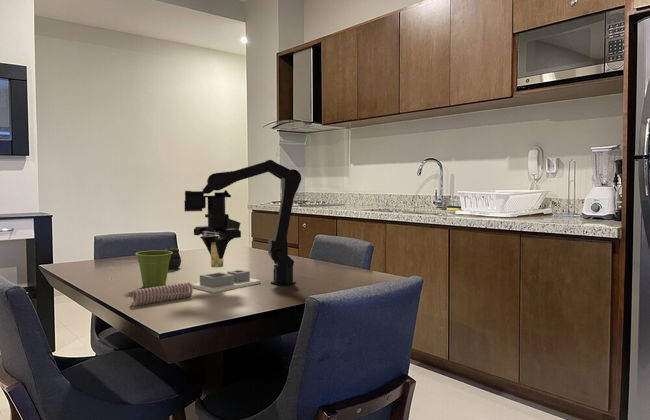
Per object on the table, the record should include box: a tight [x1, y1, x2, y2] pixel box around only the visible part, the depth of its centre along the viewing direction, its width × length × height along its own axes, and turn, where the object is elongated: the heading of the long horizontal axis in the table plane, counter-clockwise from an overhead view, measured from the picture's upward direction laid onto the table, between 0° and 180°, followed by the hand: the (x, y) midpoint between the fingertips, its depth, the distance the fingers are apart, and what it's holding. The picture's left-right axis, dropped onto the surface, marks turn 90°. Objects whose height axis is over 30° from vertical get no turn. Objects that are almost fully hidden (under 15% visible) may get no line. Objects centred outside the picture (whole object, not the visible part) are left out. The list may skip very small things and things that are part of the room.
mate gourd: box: [164, 245, 182, 270], centre depth 198 cm, size 7×8×10 cm
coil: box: [130, 281, 193, 307], centre depth 143 cm, size 5×5×18 cm
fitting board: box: [191, 269, 262, 294], centre depth 165 cm, size 12×20×4 cm, turn 138°
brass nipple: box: [210, 242, 224, 268], centre depth 162 cm, size 4×4×8 cm
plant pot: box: [135, 249, 173, 289], centre depth 164 cm, size 12×12×11 cm
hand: (217, 258), depth 162 cm, fingers closed on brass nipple, 4 cm apart
